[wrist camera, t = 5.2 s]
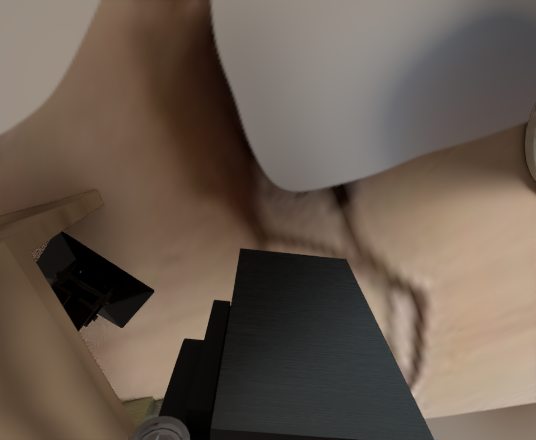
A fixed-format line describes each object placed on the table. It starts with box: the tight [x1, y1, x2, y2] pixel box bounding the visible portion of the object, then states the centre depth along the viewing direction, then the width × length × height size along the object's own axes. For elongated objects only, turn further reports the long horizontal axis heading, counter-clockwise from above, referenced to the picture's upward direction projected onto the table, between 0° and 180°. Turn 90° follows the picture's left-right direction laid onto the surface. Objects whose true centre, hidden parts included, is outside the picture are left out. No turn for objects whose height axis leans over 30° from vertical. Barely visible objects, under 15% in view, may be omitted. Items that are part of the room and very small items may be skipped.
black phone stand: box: [36, 231, 154, 332], centre depth 27 cm, size 12×7×5 cm, turn 50°
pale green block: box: [122, 397, 163, 428], centre depth 32 cm, size 8×3×4 cm, turn 105°
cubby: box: [0, 190, 136, 440], centre depth 24 cm, size 9×17×10 cm, turn 15°
